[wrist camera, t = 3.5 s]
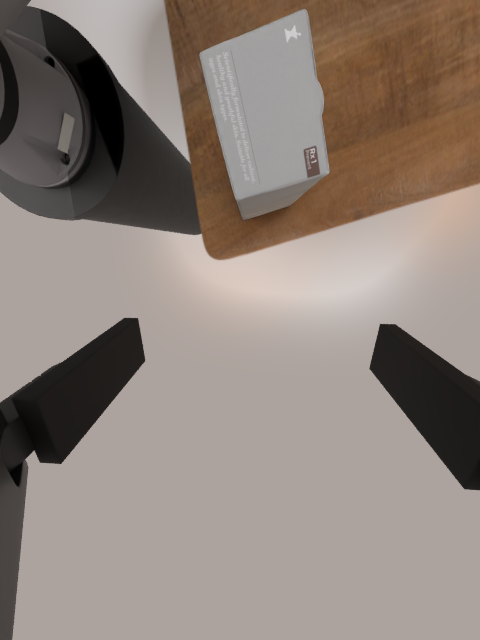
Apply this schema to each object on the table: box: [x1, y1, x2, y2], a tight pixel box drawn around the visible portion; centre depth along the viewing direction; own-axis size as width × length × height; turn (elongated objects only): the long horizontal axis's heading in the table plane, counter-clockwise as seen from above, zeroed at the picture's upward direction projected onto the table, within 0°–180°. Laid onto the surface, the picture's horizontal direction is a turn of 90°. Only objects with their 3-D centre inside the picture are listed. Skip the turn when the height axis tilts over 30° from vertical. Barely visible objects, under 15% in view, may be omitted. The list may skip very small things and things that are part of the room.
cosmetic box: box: [199, 9, 329, 220], centre depth 21 cm, size 8×7×16 cm
